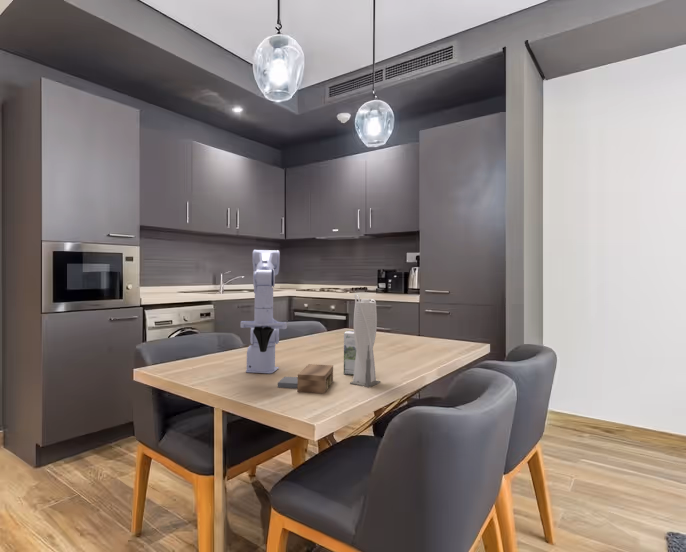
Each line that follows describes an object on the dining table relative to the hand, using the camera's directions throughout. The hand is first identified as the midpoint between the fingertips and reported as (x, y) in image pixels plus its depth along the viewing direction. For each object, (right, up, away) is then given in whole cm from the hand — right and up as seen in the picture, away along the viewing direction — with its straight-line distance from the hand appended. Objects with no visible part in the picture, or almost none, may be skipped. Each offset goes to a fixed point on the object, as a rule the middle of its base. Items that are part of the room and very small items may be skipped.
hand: (263, 351), depth 127 cm
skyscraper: (+32, -10, +2) cm, 33 cm away
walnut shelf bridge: (+17, -10, -3) cm, 20 cm away
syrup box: (+28, -10, +14) cm, 33 cm away
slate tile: (+12, -11, -2) cm, 16 cm away
